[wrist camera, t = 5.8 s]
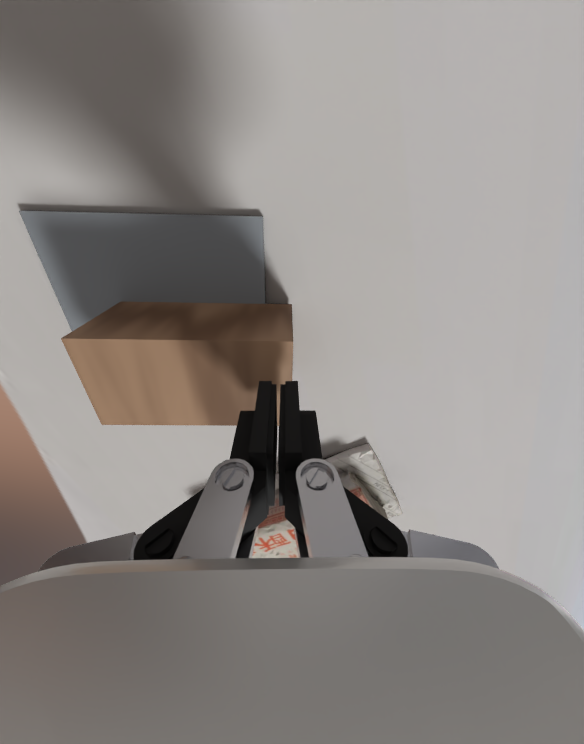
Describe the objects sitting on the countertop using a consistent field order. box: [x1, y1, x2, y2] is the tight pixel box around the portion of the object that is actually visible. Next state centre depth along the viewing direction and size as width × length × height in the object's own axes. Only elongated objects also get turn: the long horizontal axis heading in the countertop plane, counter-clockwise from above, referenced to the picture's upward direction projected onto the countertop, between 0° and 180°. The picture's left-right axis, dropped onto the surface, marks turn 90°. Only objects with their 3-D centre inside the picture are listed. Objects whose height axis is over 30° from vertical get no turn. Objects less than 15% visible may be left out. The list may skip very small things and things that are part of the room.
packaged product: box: [252, 443, 402, 558], centre depth 26 cm, size 18×5×10 cm
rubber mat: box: [19, 211, 266, 331], centre depth 18 cm, size 12×14×1 cm
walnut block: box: [61, 302, 293, 426], centre depth 15 cm, size 5×5×10 cm
